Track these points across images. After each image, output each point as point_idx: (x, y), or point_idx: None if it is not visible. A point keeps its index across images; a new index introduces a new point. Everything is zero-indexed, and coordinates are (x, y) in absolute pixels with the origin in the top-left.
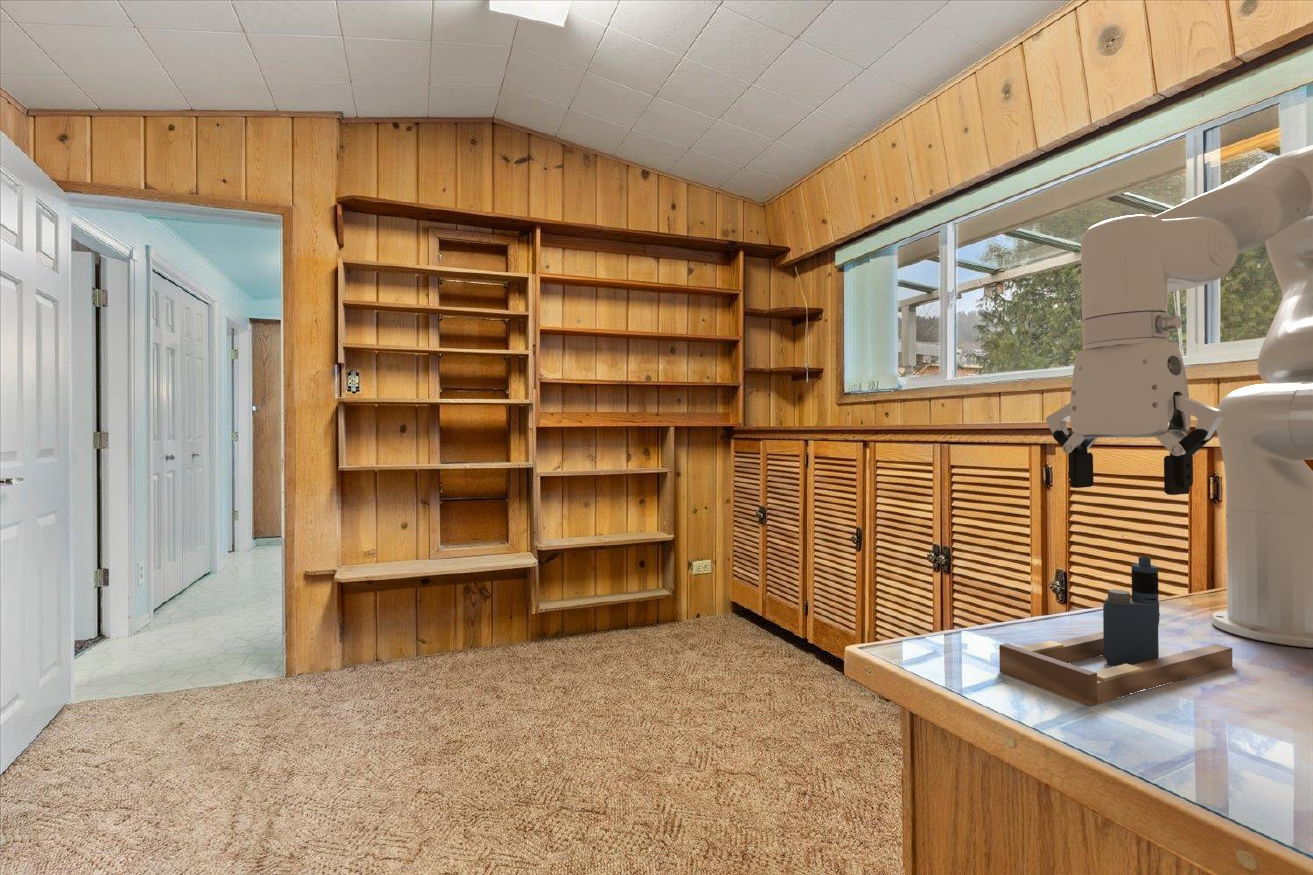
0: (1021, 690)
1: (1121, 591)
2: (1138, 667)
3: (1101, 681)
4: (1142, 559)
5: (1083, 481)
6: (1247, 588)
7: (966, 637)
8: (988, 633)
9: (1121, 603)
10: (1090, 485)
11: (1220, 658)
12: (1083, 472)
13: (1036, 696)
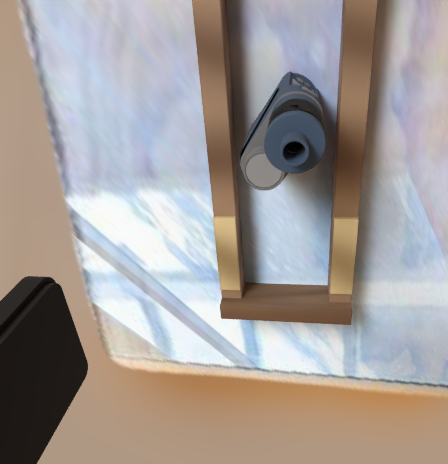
0: None
1: (264, 163)
2: (353, 220)
3: (349, 294)
4: (296, 164)
5: (67, 356)
6: None
7: (97, 222)
8: (87, 176)
9: (282, 180)
10: (64, 299)
11: None
12: (42, 392)
13: None
